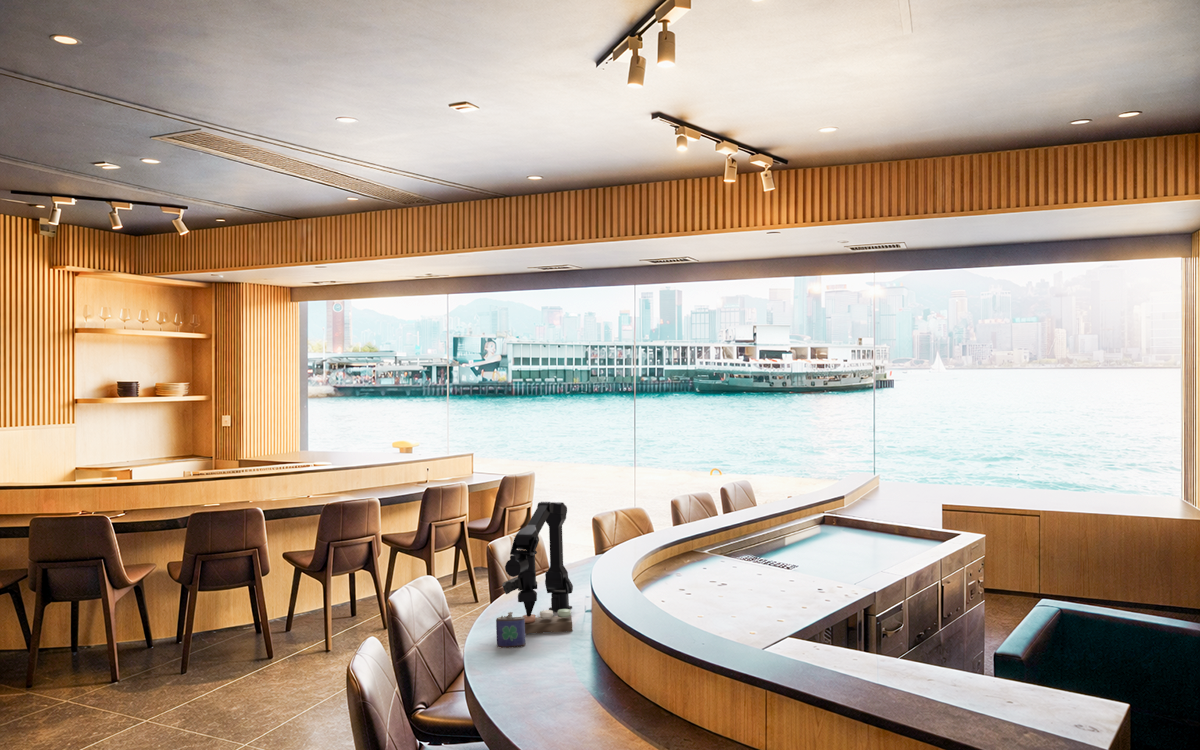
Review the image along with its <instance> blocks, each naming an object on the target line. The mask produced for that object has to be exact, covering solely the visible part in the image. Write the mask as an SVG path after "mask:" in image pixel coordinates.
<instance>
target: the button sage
mask: <svg viewBox="0 0 1200 750" xmlns="http://www.w3.org/2000/svg"><path fill="white" fill-rule="evenodd" d="M571 611H572V610H571V608H570V609H560V610H558V611H557V616H558V617H569V616H571V617H572V612H571Z"/></svg>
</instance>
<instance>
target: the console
mask: <svg viewBox="0 0 1200 750" xmlns="http://www.w3.org/2000/svg"><path fill="white" fill-rule="evenodd" d="M572 617H573V616H572V615H571V616H569V617H558V615H555V616H554V615H553V617H552V618H547V619H544V618H540V616H537V617H536V616H535V622H531V623H525V635H530V634H529V633H536V634H544V633H543V632H551V633H562V632H564V633H566V631H567V632H573V618H572Z"/></svg>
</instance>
